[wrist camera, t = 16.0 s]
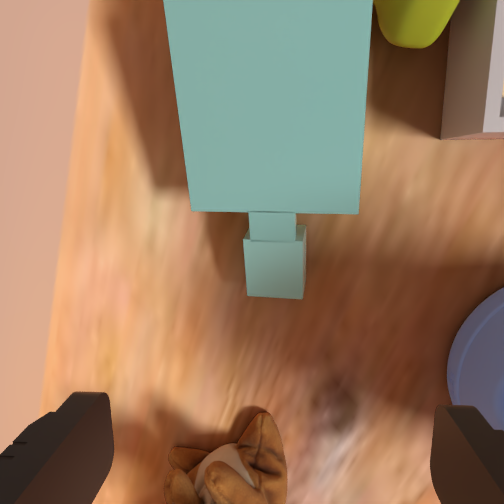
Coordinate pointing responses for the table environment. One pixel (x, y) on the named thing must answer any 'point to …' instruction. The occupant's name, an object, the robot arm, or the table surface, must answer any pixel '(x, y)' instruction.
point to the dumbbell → (413, 20)
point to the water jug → (480, 361)
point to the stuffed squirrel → (231, 470)
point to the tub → (475, 72)
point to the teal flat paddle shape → (272, 119)
